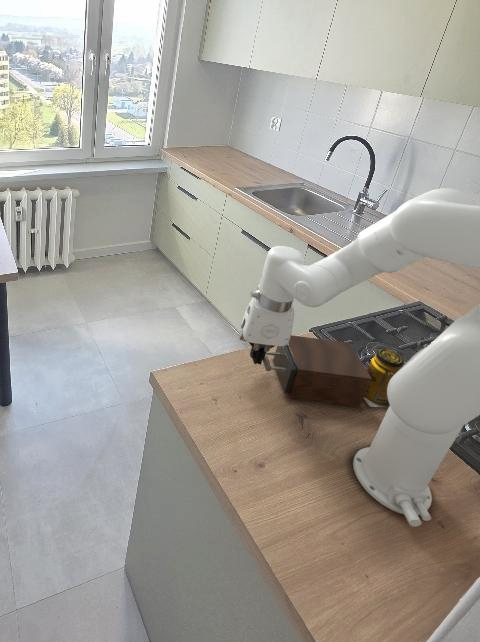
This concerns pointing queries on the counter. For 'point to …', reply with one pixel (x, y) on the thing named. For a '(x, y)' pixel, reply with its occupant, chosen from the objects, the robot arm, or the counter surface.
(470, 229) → the robot arm
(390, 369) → the condiment
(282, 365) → the drawer
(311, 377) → the cabinet
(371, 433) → the counter surface
